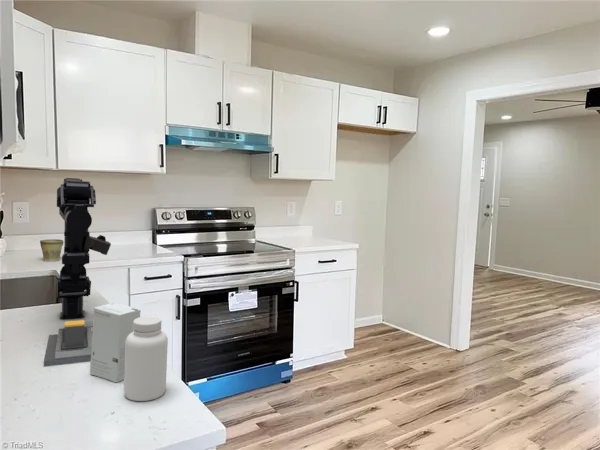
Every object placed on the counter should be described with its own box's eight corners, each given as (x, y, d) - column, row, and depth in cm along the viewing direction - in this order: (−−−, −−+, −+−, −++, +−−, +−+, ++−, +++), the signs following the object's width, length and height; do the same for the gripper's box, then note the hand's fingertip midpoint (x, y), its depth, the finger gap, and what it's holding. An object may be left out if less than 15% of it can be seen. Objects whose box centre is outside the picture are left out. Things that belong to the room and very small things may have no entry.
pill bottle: (149, 406, 83) (151, 328, 81) (114, 397, 85) (116, 322, 84) (174, 388, 90) (176, 317, 89) (141, 381, 93) (143, 311, 92)
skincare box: (89, 374, 94) (90, 307, 93) (111, 365, 100) (112, 301, 99) (118, 384, 91) (119, 314, 90) (139, 373, 96) (141, 307, 95)
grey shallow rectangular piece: (49, 339, 113) (49, 328, 113) (100, 334, 118) (100, 324, 118) (43, 366, 97) (43, 354, 97) (102, 359, 102) (103, 348, 102)
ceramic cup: (53, 262, 211) (53, 242, 210) (35, 261, 212) (34, 240, 211) (71, 258, 223) (71, 239, 222) (54, 257, 225) (54, 238, 224)
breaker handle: (62, 349, 104) (62, 321, 103) (86, 346, 106) (86, 319, 106) (62, 355, 100) (62, 326, 100) (86, 352, 103) (86, 324, 102)
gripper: (111, 231, 113) (110, 291, 114) (107, 224, 130) (106, 276, 131) (62, 231, 108) (61, 293, 109) (64, 224, 125) (64, 278, 126)
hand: (75, 284), depth 119 cm, fingers closed
